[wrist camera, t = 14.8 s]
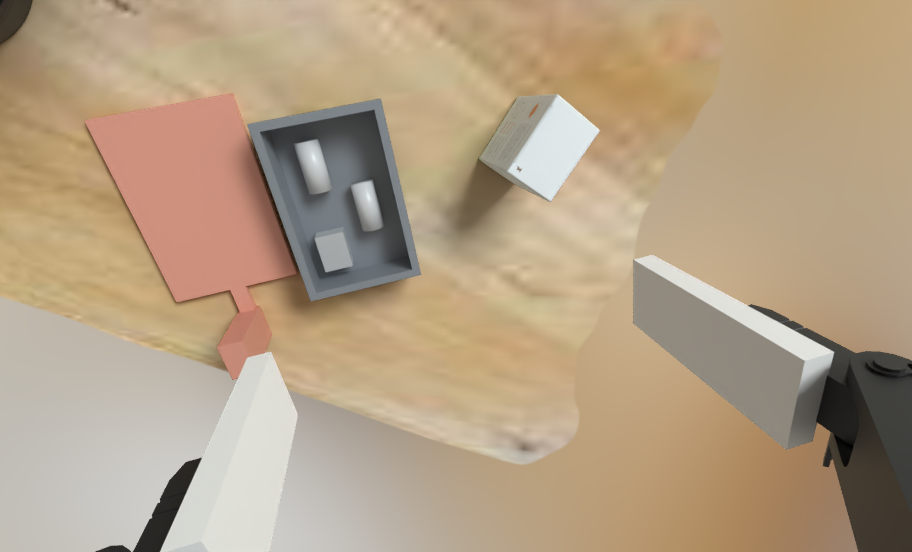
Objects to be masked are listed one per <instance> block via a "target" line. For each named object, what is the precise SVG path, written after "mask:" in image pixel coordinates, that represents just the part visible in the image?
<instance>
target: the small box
mask: <svg viewBox="0 0 912 552" xmlns="http://www.w3.org/2000/svg"><path fill="white" fill-rule="evenodd" d="M599 132H600V130H599V129H598V128H597V127H595V126H594V125H593V124H592V123H591V122H590V121H589V120H587V119H586V118H585V117H584V116H583V115H582V114H580V113H579V112H578V111H577V110H576V109H575V108H573V107H572V106H571V105H570V104H569V103H567V102H566V101H565V100H564V99H563V98H562V97H560V96H559V95H558V94H554V95H537V96H522V97H517V99H516V101H515V102H514V104H513V105H512V107H511V108H510V110H509V112H508V113H507V115H506V116H505V118H504V120H503V121H502V123H501V124H500V126H499V128H498V129H497V131H496V132H495V134H494V135H493V137H492V139H491V140H490V142H489V143H488V145H487V147H486V148H485V150H484V151H483V153H482V154H481V156H480V157H479V160H480V161H482V162H483V163H485V164H486V165H487V166H489V167H490V168H492V169H493V170H494V171H496V172H497V173H499V174H500V175H502V176H503V177H505V178H506V179H508V180H509V181H510V182H512V183H513V184H515V185H517V186H519V187H521V188H523V189H525V190H527V191H529V192H531V193H533V194H535V195H537V196H539V197H541V198H543V199H545V200H547V201H550V202H551V201H552V200H553V198H554V197H555V195H556V194H557V192H558V191H559V189H560V188H561V187H562V185H563V184H564V182H565V181H566V179H567V178H568V176H569V175H570V173H571V172H572V170H573V169H574V168H575V166H576V165H577V163H578V162H579V160H580V159H581V157H582V156H583V155H584V153H585V152H586V150H587V149H588V147H589V146H590V144H591V143H592V142H593V140H594V139H595V137H596V136H597V134H598V133H599Z"/></svg>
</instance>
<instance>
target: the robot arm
mask: <svg viewBox="0 0 912 552" xmlns="http://www.w3.org/2000/svg"><path fill="white" fill-rule="evenodd" d="M31 2H32V0H0V43H1V42H3V41H4V40H6V39H7V38H9V37H10V36H11V35H12V34H13V33H14V32H15V31H16V30H17V29H18V28H19V27H20V26H21V24H22V23H23V21H24V20H25V18H26V16H27V14H28V11H29V9H30V6H31ZM633 324H635V325H636V326H637V327H638V328H640V329H641V330H642V331H643V332H644V333H645V334H647V335H648V336H649V337H650V338H652V339H653V340H654V341H655V342H656V343H658V344H659V345H660V346H661V347H662V348H664V349H665V350H666V351H667V352H669V353H670V354H671V355H672V356H673V357H675V358H676V359H677V360H678V361H679V362H681V363H682V364H683V365H684V366H685V367H687V368H688V369H689V370H690V371H692V372H693V373H694V374H695V375H696V376H698V377H699V378H700V379H701V380H702V381H704V382H705V383H706V384H707V385H708V386H710V387H711V388H712V389H713V390H714V391H716V392H717V393H718V394H719V395H721V396H722V397H723V398H724V399H725V400H727V401H728V402H729V403H730V404H732V405H733V406H734V407H735V408H736V409H738V410H739V411H740V412H741V413H742V414H744V415H745V416H746V417H747V418H748V419H750V420H751V421H752V422H753V423H754V424H756V425H757V426H758V427H759V428H761V429H762V430H763V431H764V432H765V433H767V434H768V435H769V436H770V437H772V438H773V439H774V440H775V441H776V442H777V443H779V444H780V445H781V446H782V447H784V448H785V449H786V450H787V449H790V448H793V447H796V446H799V445H802V444H805V443H808V442H812V441H813V438H814V433H815V429H816V425H817V422H818V423H819V424H821V425H822V426H823V427H825V428H826V429H827V430H829V431H830V432H831V433H830V437H829V441H828V445H827V449H826V452H825V456H824V460H823V466H825V467H829V465H830V461H831V460H832V459H833V461H834V465H835V468H836V472H837V475H838V479H839V483H840V486H841V490H842V494H843V497H844V501H845V505H846V508H847V512H848V515H849V519H850V523H851V526H852V530H853V533H854V537H855V541H856V544H857V548H858V552H912V361H911V360H909V359H906V358H903V357H900V356H897V355H894V354H889V353H883V352H871V351H866V352H861V353H854V352H852V351H850V350H848V349H847V348H845V347H843V346H841V345H839V344H837V343H835V342H833V341H831V340H829V339H827V338H825V337H823V336H821V335H819V334H817V333H815V332H813V331H811V330H809V329H807V328H805V329H804V328H803V326H801V325H800V324H798V323H796V322H794V321H790V320H789V319H788V318H786V317H784V316H782V315H780V314H778V313H776V312H774V311H773V310H769V309H766V308H762V307H759V306H755V305H752V304H751V305H748V306H747V305H745V304H743V303H741V302H739V301H738V300H736V299H734V298H732V297H730V296H728V295H726V294H725V293H723V292H721V291H719V290H717V289H715V288H713V287H711V286H710V285H708V284H706V283H704V282H702V281H700V280H698V279H697V278H695V277H693V276H691V275H689V274H687V273H685V272H683V271H681V270H680V269H678V268H676V267H674V266H672V265H670V264H668V263H667V262H665V261H663V260H661V259H659V258H657V257H655V256H653V255H651V256H646V257H642V258H638V259H634V260H633ZM297 417H298V414H297V412H296V409H295V407H294V404H293V402H292V400H291V397H290V395H289V393H288V390H287V388H286V386H285V383H284V381H283V379H282V376H281V374H280V372H279V369H278V367H277V365H276V362H275V360H274V358H273V355H272V353H271V352H267V353H264V354H260V355H256V356H252V357H248V358H247V359H246V362H245V364H244V366H243V368H242V370H241V373H240V375H239V377H238V379H237V382H236V384H235V386H234V388H233V391H232V393H231V395H230V397H229V399H228V402H227V404H226V406H225V408H224V411H223V413H222V415H221V417H220V419H219V422H218V424H217V426H216V428H215V431H214V433H213V435H212V437H211V439H210V442H209V444H208V446H207V448H206V451H205V453H204V455H203V457H202V458H199V459H196V460H192V461H188V462H186V463H185V464H184V465H183V466H182V467H181V468H180V469H179V470H178V472H177V473H176V474H175V475H174V476H173V477H172V478H171V479H170V480H169V482H168V484H167V486H166V488H165V490H164V492H163V494H162V496H161V498H160V503H158V504H157V506H156V508H155V510H154V512H153V514H152V518H151V519H150V520H149V522H148V523H147V525H146V527H145V529H144V531H143V533H142V535H141V537H140V539H139V541H138V543H137V545H136V547H135V549H134V551H133V552H270V547H271V542H272V537H273V532H274V527H275V523H276V518H277V513H278V508H279V503H280V499H281V494H282V489H283V484H284V480H285V475H286V469H287V465H288V460H289V455H290V450H291V446H292V441H293V436H294V431H295V426H296V421H297ZM96 552H131V551H130V550H129V549H127V548H126V547H124V546H123V545H119V546H109V547H107V548H104V549H101V550H99V551H96Z"/></svg>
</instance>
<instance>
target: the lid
mask: <svg viewBox="0 0 912 552" xmlns="http://www.w3.org/2000/svg"><path fill="white" fill-rule="evenodd" d="M84 121H85V123H86V125H87V127H88V129H89V131H90V133H91V135H92V137H93V139H94V141H95V143H96V145H97V147H98V149H99V150H100V152H101V154H102V156H103V158H104V160H105V162H106V164H107V166H108V168H109V170H110V172H111V174H112V176H113V178H114V180H115V182H116V184H117V186H118V188H119V190H120V192H121V194H122V196H123V198H124V200H125V202H126V204H127V206H128V208H129V210H130V212H131V213H132V215H133V217H134V219H135V221H136V223H137V225H138V227H139V229H140V231H141V233H142V235H143V237H144V239H145V241H146V243H147V245H148V247H149V249H150V251H151V253H152V255H153V257H154V259H155V261H156V263H157V265H158V267H159V269H160V271H161V273H162V275H163V276H164V278H165V280H166V282H167V284H168V286H169V288H170V290H171V292H172V294H173V296H174V298H175V300H176V302H180V301H185V300H189V299H193V298H197V297H202V296H206V295H210V294H214V293H219V292H223V291H227V290H230V291H231V293H232V295H233V297H234V300H235V302H236V304H237V307H238V309H239V311H238V313H237V314H236V316H235V318H234V319H233V321H232V323H231V324H230V326H229V328H228V329H227V331H226V333H225V334H224V336H223V338H222V339H221V341H220V343H219V344H218V346H217V349H218V351H219V353H220V355H221V357H222V359H223V361H224V363H225V365H226V367H227V369H228V371H229V374H230V376H231V378H232V380H233V379H238V377H239V375H240V373H241V370H242V368H243V366H244V364H245V362H246V359H247V358H248V357H252V356H256V355H260V354H264V353H265V351H266V348H267V346H268V343H269V341H270V338H271V336H272V334H271V331H270V329H269V326H268V324H267V322H266V319H265V317H264V314H263V312H262V310H261V307H260V306H257V307H256V305H255V302H254V300H253V297H252V295H251V293H250V290H249V288H248V286H249V285H253V284H257V283H261V282H266V281H270V280H274V279H278V278H283V277H287V276H291V275H296V274H297V269H296V266H295V263H294V261H293V258H292V255H291V252H290V250H289V247H288V244H287V241H286V239H285V236H284V233H283V230H282V227H281V225H280V222H279V219H278V216H277V214H276V211H275V208H274V205H273V203H272V200H271V197H270V194H269V192H268V189H267V186H266V183H265V180H264V178H263V175H262V172H261V169H260V167H259V164H258V161H257V158H256V156H255V153H254V150H253V147H252V145H251V142H250V139H249V136H248V134H247V131H246V128H245V125H244V123H243V120H242V117H241V114H240V111H239V109H238V106H237V103H236V100H235V98H234V95H233V94H226V95H220V96H215V97H209V98H204V99H198V100H193V101H187V102H182V103H176V104H171V105H165V106H160V107H155V108H149V109H144V110H138V111H133V112H127V113H122V114H116V115H111V116H105V117H100V118H94V119H89V120H84Z"/></svg>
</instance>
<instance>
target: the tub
mask: <svg viewBox="0 0 912 552" xmlns="http://www.w3.org/2000/svg"><path fill="white" fill-rule="evenodd" d="M247 125H248V128H249V131H250V134H251V137H252V139H253V142H254V145H255V148H256V151H257V153H258V156H259V159H260V162H261V164H262V167H263V170H264V173H265V176H266V178H267V181H268V184H269V187H270V189H271V192H272V195H273V198H274V201H275V203H276V206H277V209H278V212H279V214H280V217H281V220H282V223H283V226H284V228H285V231H286V234H287V237H288V239H289V242H290V245H291V248H292V251H293V253H294V256H295V259H296V262H297V264H298V267H299V270H300V273H301V276H302V278H303V281H304V284H305V287H306V289H307V292H308V295H309V298H310V301H315V300H319V299H323V298H327V297H331V296H335V295H340V294H344V293H348V292H352V291H356V290H360V289H364V288H368V287H373V286H377V285H381V284H385V283H389V282H393V281H397V280H401V279H405V278H410V277H414V276H418V275H421V272H420V268H419V263H418V259H417V255H416V250H415V246H414V242H413V237H412V233H411V228H410V224H409V220H408V215H407V211H406V207H405V202H404V198H403V194H402V189H401V185H400V180H399V176H398V172H397V167H396V163H395V159H394V154H393V150H392V146H391V141H390V137H389V132H388V128H387V124H386V119H385V115H384V111H383V106H382V102H381V99H376V100H370V101H365V102H360V103H355V104H350V105H344V106H339V107H334V108H329V109H323V110H318V111H313V112H308V113H303V114H297V115H292V116H287V117H282V118H277V119H271V120H266V121H261V122H256V123H251V124H247Z"/></svg>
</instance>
